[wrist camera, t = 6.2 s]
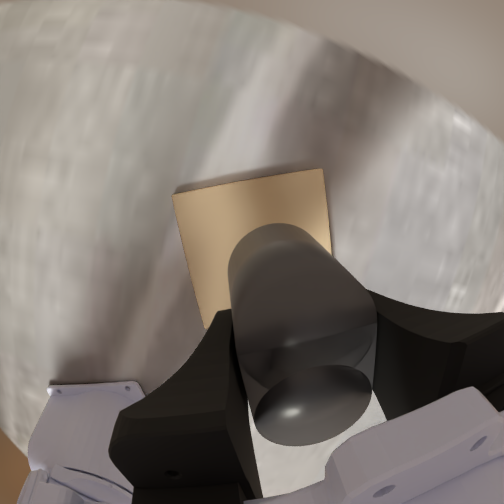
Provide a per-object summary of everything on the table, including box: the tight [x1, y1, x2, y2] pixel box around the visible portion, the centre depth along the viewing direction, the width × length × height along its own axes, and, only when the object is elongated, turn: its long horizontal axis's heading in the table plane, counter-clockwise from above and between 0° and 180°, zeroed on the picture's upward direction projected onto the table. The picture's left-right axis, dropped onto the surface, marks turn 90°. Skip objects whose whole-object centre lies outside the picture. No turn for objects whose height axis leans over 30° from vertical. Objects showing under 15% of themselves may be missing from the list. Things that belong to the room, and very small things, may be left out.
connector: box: [228, 223, 377, 446], centre depth 11 cm, size 9×4×5 cm, turn 9°
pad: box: [172, 168, 332, 329], centre depth 20 cm, size 9×9×1 cm
